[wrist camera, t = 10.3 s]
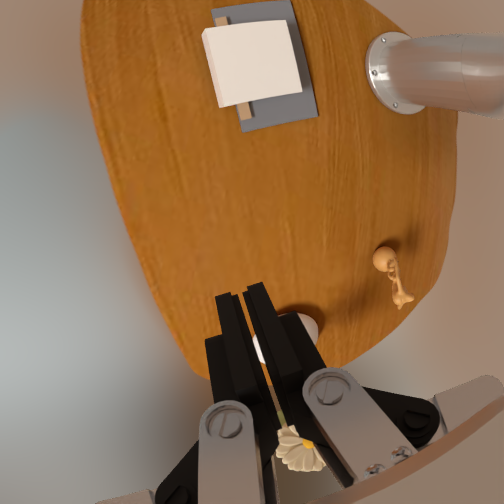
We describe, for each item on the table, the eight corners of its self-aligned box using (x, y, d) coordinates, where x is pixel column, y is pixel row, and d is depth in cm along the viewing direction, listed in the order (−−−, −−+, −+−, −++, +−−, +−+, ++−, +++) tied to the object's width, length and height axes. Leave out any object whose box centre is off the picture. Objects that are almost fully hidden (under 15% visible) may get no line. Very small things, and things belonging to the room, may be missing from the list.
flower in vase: (323, 307, 48) (401, 429, 26) (303, 355, 53) (358, 470, 31) (246, 305, 44) (300, 457, 23) (234, 358, 49) (270, 492, 27)
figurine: (389, 267, 48) (432, 307, 37) (361, 283, 47) (400, 327, 37) (384, 227, 43) (434, 263, 33) (353, 242, 43) (399, 284, 33)
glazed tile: (201, 35, 25) (276, 25, 27) (218, 107, 30) (292, 93, 31) (205, 28, 23) (285, 19, 25) (224, 106, 28) (302, 91, 29)
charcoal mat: (288, 1, 26) (291, -2, 25) (316, 116, 34) (320, 116, 33) (210, 10, 25) (211, 8, 24) (242, 132, 33) (243, 132, 32)
